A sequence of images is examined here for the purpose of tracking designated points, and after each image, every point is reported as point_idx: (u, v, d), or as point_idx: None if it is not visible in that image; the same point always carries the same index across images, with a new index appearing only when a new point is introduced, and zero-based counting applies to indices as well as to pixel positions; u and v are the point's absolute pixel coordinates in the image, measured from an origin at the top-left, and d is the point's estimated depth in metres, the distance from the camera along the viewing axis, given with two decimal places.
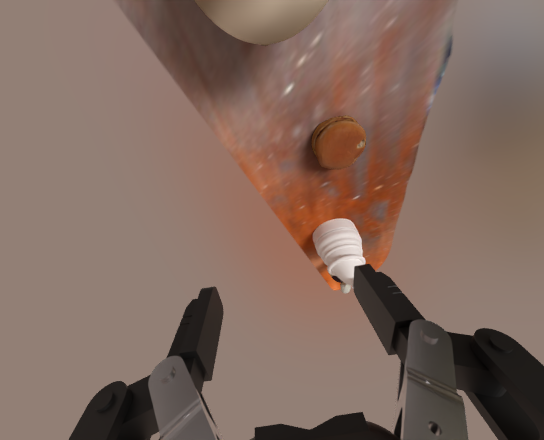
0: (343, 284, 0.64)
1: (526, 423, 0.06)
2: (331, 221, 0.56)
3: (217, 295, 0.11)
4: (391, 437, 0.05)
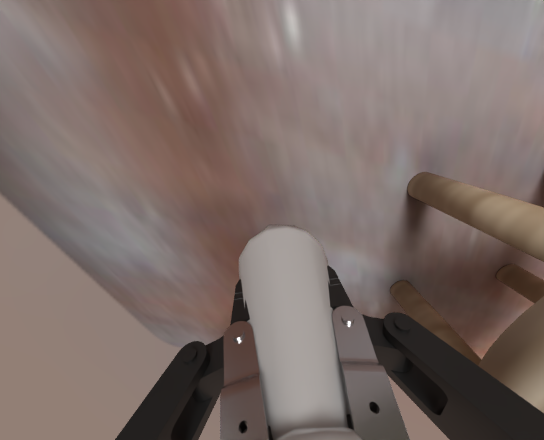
0: None
1: (432, 383, 0.07)
2: None
3: None
4: None
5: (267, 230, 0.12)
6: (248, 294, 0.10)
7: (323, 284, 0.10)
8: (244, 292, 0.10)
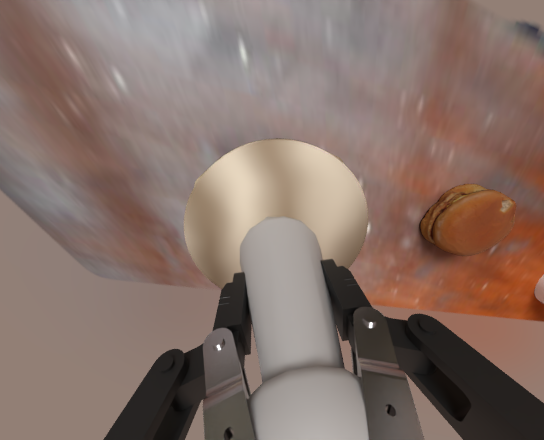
0: None
1: (456, 390, 0.07)
2: None
3: None
4: None
5: (266, 220, 0.13)
6: (249, 275, 0.11)
7: (316, 265, 0.11)
8: (246, 273, 0.11)
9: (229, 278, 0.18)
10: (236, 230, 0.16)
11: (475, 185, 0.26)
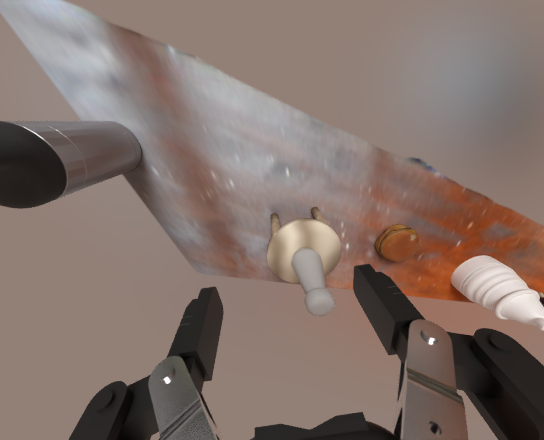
0: None
1: (526, 423, 0.06)
2: (458, 269, 0.58)
3: (217, 295, 0.11)
4: (391, 437, 0.05)
5: (302, 250, 0.37)
6: (299, 269, 0.35)
7: (320, 267, 0.35)
8: (297, 269, 0.35)
9: (282, 272, 0.42)
10: (288, 252, 0.40)
11: (401, 225, 0.50)
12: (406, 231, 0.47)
